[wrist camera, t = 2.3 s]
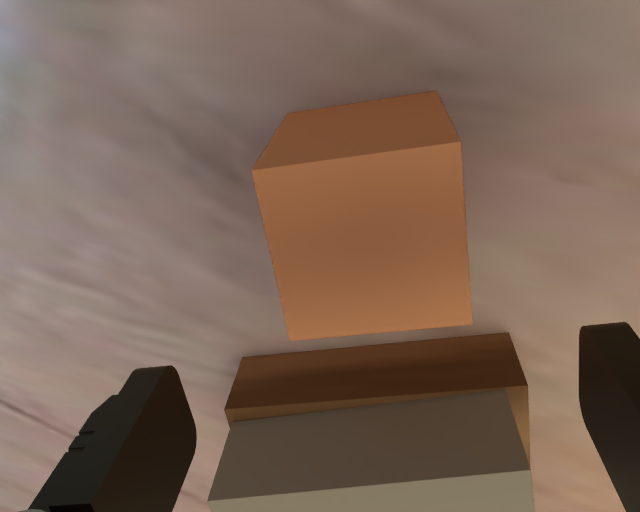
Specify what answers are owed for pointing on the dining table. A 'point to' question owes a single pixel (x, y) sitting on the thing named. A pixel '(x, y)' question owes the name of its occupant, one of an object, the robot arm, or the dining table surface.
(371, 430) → the grey slab
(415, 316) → the terracotta block
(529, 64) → the dining table surface
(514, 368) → the walnut slab
